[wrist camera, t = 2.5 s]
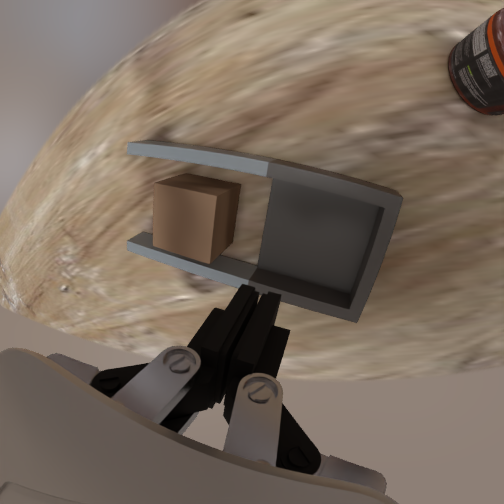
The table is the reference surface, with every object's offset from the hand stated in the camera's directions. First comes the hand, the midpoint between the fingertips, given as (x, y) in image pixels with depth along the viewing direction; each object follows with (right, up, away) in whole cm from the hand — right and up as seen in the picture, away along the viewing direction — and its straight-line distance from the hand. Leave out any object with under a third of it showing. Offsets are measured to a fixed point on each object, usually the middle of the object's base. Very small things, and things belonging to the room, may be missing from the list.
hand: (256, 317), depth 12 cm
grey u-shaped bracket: (-1, +6, +11) cm, 12 cm away
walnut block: (-4, +6, +12) cm, 14 cm away
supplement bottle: (+16, +16, 0) cm, 23 cm away
